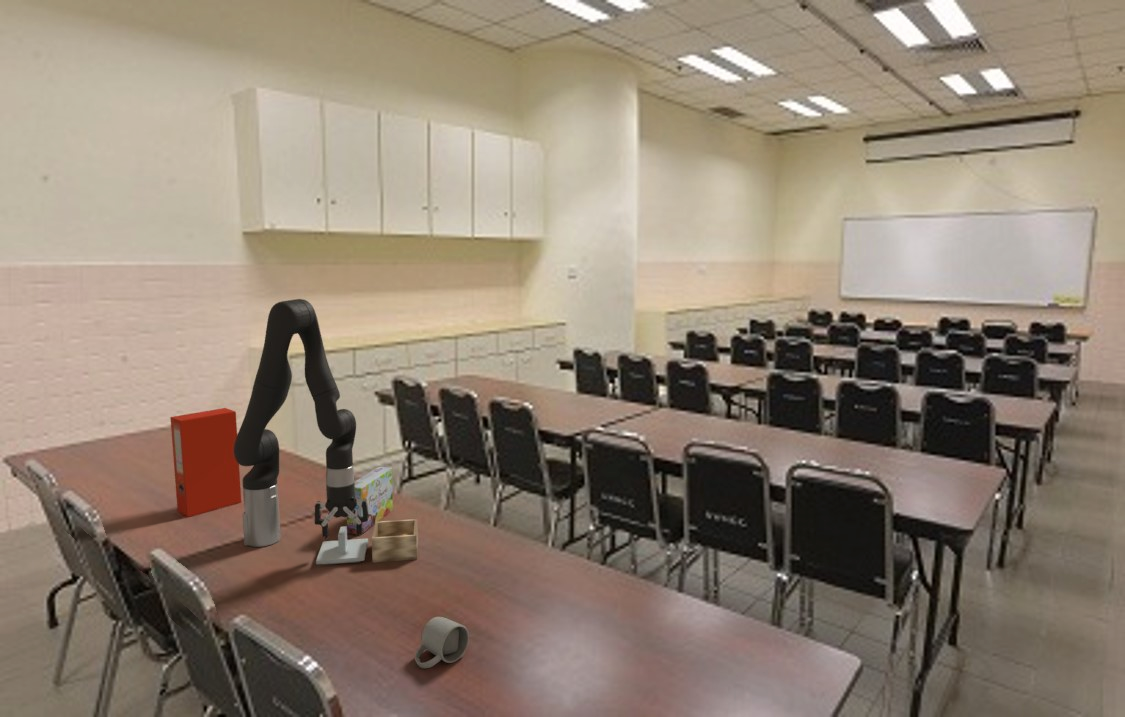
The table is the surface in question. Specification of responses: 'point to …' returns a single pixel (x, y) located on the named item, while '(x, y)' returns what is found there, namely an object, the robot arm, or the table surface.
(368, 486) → the snack box
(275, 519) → the robot arm
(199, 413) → the file binder
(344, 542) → the lid
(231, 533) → the table surface
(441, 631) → the ceramic mug
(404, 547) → the box
